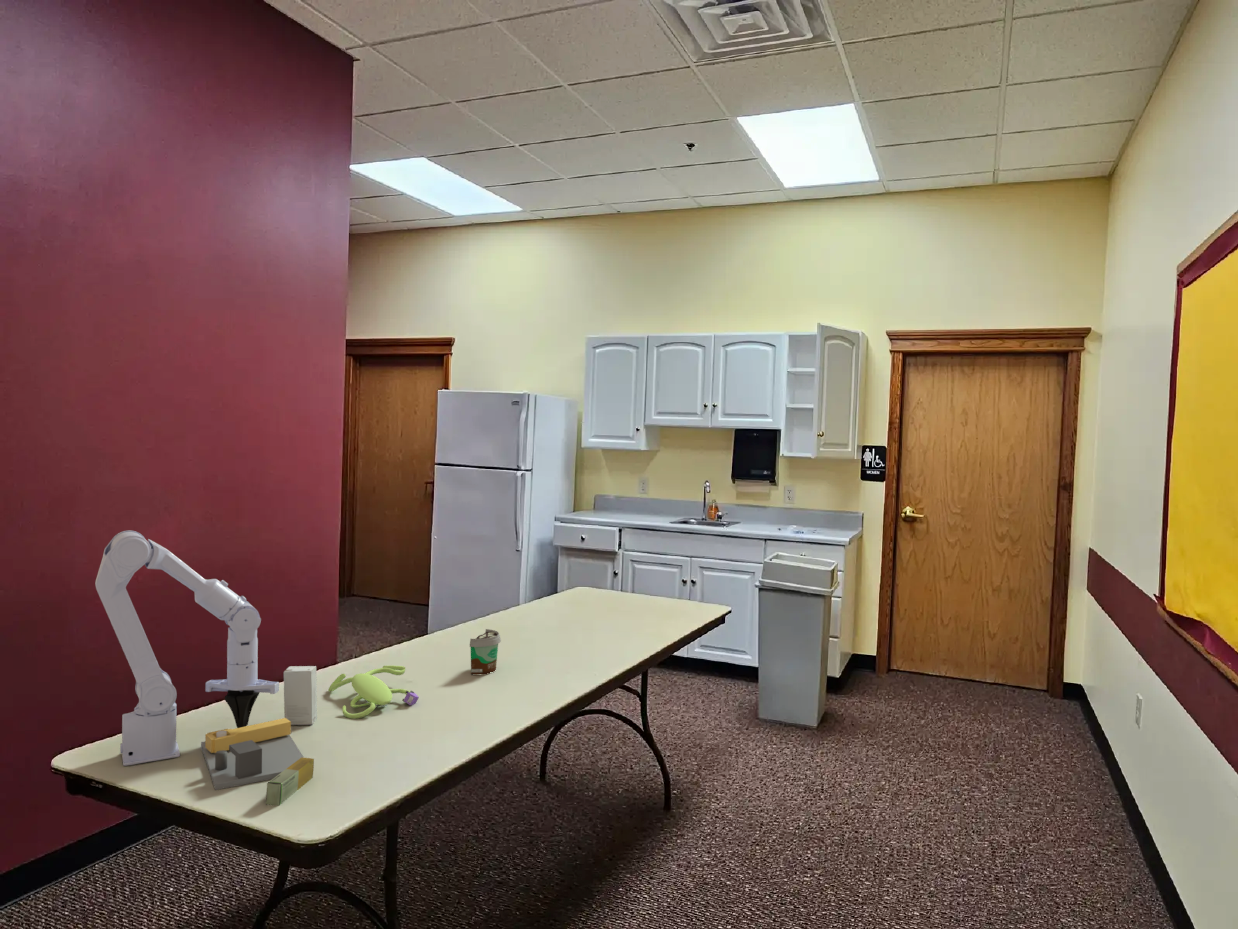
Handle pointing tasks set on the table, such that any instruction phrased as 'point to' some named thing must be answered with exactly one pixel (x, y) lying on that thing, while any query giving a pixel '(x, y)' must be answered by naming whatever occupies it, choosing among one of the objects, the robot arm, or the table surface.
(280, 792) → the medication box
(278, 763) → the base
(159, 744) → the robot arm
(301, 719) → the skincare box
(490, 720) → the table surface
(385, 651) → the table surface
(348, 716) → the figurine
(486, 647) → the food container
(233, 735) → the link
